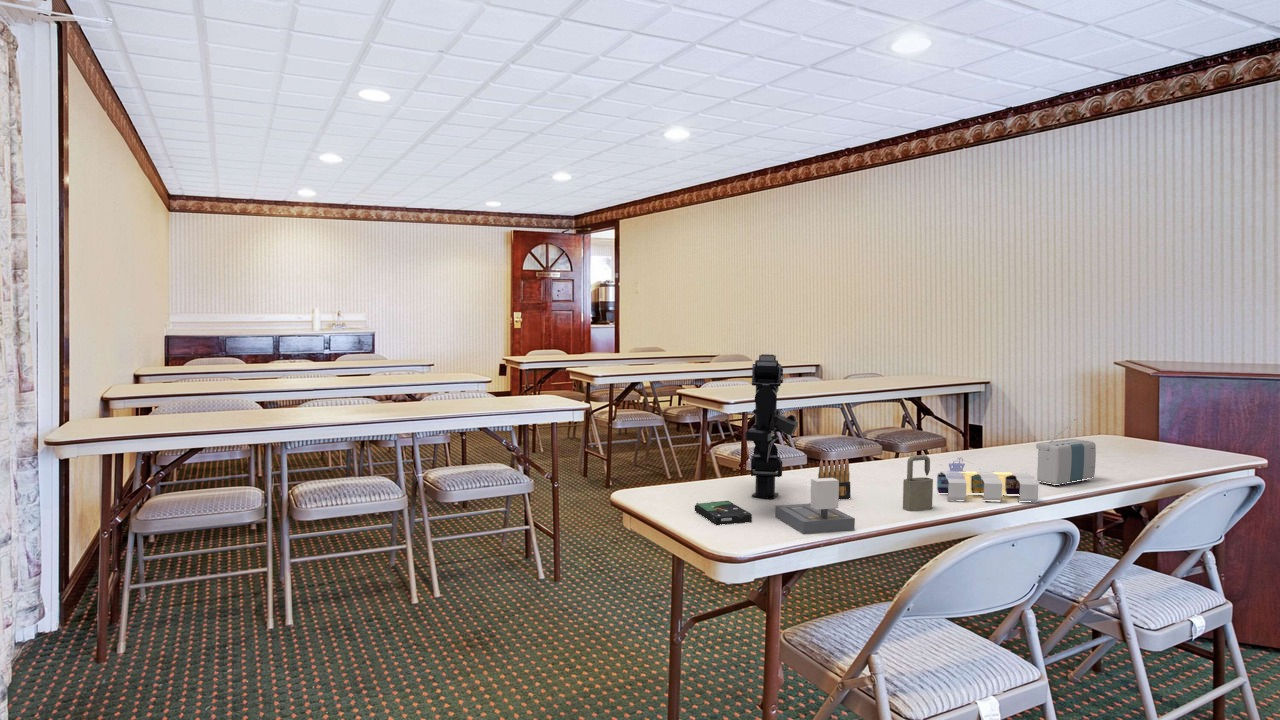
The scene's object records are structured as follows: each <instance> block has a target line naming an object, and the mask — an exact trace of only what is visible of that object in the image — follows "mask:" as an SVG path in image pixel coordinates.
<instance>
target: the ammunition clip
mask: <svg viewBox="0 0 1280 720" xmlns="http://www.w3.org/2000/svg"><path fill="white" fill-rule="evenodd" d="M843 459H844V458H841V459H840V462H839V459H838V458H836V459H835V462H834V460H833V458H831V459H830V463H829V461H828V459H825V462H823V459H820V462H819V466H818V467H819V468H818V474H817V477H818V478H817V479H820V478H834V479H837V480H839V498H838V501H840V500H839V499H845V500H850V499H851V498H852V497H851V481H850V463H849V459H848V458H847V457H846V459H845V462H844V460H843ZM849 498H850V499H849Z"/></svg>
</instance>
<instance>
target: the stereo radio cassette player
mask: <svg viewBox="0 0 1280 720" xmlns="http://www.w3.org/2000/svg"><path fill="white" fill-rule="evenodd" d="M1075 421H1076V419H1075V418H1074V419H1073V420H1072V421H1071V422H1070V423H1068V424H1067V425H1066V426H1065V427H1064V428H1063V429H1061V430H1060V431H1059V432H1057V434H1056V435H1055V436H1054V437H1052V438H1051V440H1049V441H1044V442H1036V444H1035V447H1036V450H1037V470H1036V471H1037V472H1036V478H1037V482H1038V481H1041V482H1046V483H1051V484H1062V483H1067V482H1072V481H1077V480H1082V479H1087V478H1092V477H1095V474H1096V473H1095V472H1096V456H1097V455H1096V454H1097V446H1096V443H1095V442H1094V441H1092V440H1091V441H1090V440H1083V439H1076V438H1069V439H1060V440H1055V439H1056V438H1057V437H1058V436H1060V435H1061V434H1062V433H1063V432H1064V431H1065V430H1067V429H1068V427H1070V425H1071V424H1072V423H1073V422H1075ZM1092 479H1093V478H1092Z"/></svg>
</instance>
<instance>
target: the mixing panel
mask: <svg viewBox="0 0 1280 720" xmlns="http://www.w3.org/2000/svg"><path fill="white" fill-rule="evenodd" d="M774 507H775V508H774V510H775V511H774V518H776V519H778V520H779V519H780V520H779V521H781V522H783V523H785V524H786V525H788V526H789V527H791V528H792V529H794V530H796V531H797V532H799V533H801V534H802V535H809V534H823V533H834V532H835V533H836V532H849V531H855V530H856V529H855V526H856V525H855V523H856V522H855V521H856V518H855V517H853V516H852V515H850V514H847V513H845V512H843V511H841V510H838V508H834V509H828V517H822V516H821V509H818V510H816V509H814V508H812V507H811V503H800V504H799V503H796V504H782V505H781V504H780V505H775V506H774ZM821 532H822V533H821Z"/></svg>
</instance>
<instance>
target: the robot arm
mask: <svg viewBox="0 0 1280 720" xmlns="http://www.w3.org/2000/svg"><path fill="white" fill-rule="evenodd" d="M782 366H783V365H781V364H780V363H779V360H777V356H776V355H775V354H768V353H767V354H760V355H759V356H758V359H755V361H754V363H752V367H751V368H752V370H751V371H752V372H751V386H753V387H754V386H755V395H754V402H755V404H754V405H755V409H753V410H752V414H754V417H755V418H754V424H753V425H752V427H751V428H750V429H747V430H746V431H745V432H744V433H745V434H744V440H745V441H752V442H753V444H754V447H753V455H752V454H751V457H750V477H755V484H754V485H755V492H754V493H752V494H751V497H753V498H760V499H770V500H771V499H772V500H774V498H776V497H777V496H779V492H776V478H780V477H783V460H781V456H779V454H778V453H779V450H778V446H777V445H776V444H775V443H774V442H776V441H777V440H778V439H779V438H780V436H778V435H775V433H780V435H781V434H784V433H785V434H786V435H788V436H793V435H794V434H795V432H796V430H797V428H798V426H799V425H798V424H799V422H798V421H797V416H795V415H794V414H789V415H788V416H783V415H781V414H780V410H779V408H778V409H777V406H778V405H777V404H778V401H777V400H778V392H779V388H780V387H781V384H783V383H784V368H783V367H782Z"/></svg>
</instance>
